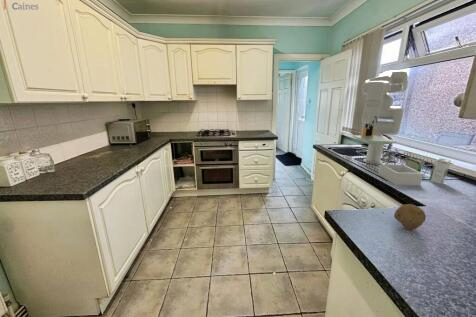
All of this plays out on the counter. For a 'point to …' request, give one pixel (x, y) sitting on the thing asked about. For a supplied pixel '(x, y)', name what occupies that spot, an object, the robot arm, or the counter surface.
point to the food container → (414, 163)
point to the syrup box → (439, 170)
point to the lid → (372, 138)
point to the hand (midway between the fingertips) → (367, 135)
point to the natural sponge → (410, 216)
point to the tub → (400, 174)
